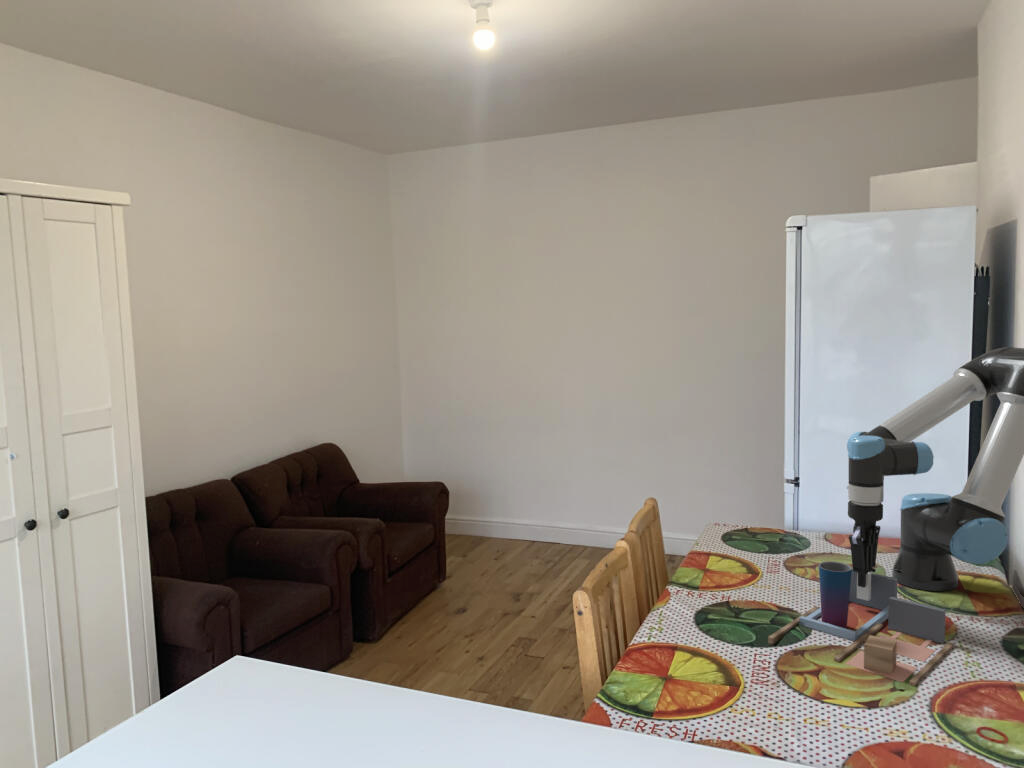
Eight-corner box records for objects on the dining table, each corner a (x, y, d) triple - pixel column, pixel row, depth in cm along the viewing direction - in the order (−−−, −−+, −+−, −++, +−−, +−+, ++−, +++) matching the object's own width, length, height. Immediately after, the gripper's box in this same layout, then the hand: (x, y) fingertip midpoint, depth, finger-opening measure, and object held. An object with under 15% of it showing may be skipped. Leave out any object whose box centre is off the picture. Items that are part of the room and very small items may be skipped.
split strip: (890, 631, 170) (891, 596, 170) (944, 645, 162) (945, 609, 162) (844, 668, 154) (845, 630, 153) (902, 687, 146) (903, 647, 145)
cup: (854, 638, 167) (855, 572, 166) (821, 636, 168) (822, 570, 167) (846, 625, 174) (847, 561, 172) (815, 624, 175) (815, 560, 174)
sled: (844, 597, 189) (844, 566, 188) (896, 611, 180) (897, 578, 180) (799, 628, 173) (799, 594, 172) (854, 644, 164) (855, 608, 163)
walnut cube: (869, 658, 156) (869, 635, 155) (896, 664, 153) (896, 640, 152) (863, 668, 152) (864, 644, 151) (891, 674, 149) (892, 650, 148)
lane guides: (815, 612, 181) (815, 606, 181) (953, 650, 160) (953, 643, 160) (768, 643, 166) (768, 636, 166) (914, 690, 144) (914, 682, 144)
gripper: (860, 494, 187) (858, 587, 189) (837, 504, 178) (836, 602, 180) (892, 499, 181) (890, 594, 184) (870, 510, 172) (869, 610, 175)
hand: (863, 598), depth 182 cm, fingers closed
